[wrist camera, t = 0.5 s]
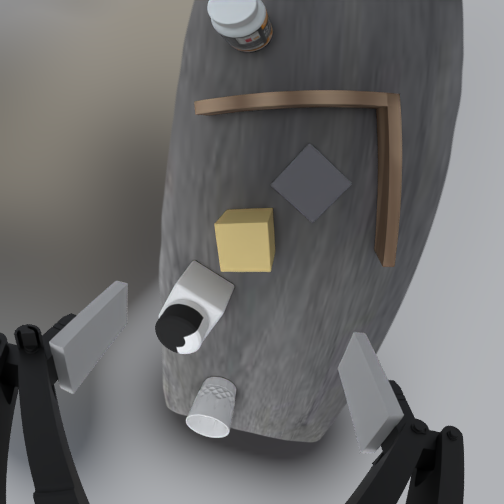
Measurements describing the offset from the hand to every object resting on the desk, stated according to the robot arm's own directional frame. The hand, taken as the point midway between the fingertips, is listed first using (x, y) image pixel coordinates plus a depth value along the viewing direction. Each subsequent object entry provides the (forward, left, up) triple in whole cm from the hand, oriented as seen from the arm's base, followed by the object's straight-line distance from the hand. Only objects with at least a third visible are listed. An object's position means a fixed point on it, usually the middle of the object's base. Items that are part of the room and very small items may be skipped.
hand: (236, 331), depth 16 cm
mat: (-5, -3, -24) cm, 25 cm away
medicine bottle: (+11, +12, -24) cm, 29 cm away
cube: (+3, +3, -24) cm, 24 cm away
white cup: (+12, +35, -24) cm, 44 cm away
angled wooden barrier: (-4, -4, -24) cm, 24 cm away
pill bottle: (+1, -23, -24) cm, 33 cm away
